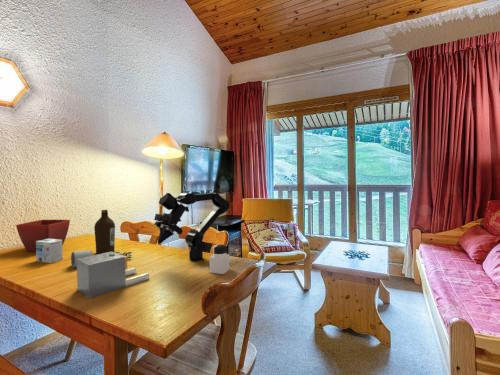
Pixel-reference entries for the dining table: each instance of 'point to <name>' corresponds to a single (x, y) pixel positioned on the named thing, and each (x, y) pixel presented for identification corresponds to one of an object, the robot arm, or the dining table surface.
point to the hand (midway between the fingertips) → (158, 243)
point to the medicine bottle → (219, 260)
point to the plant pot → (42, 232)
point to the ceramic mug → (79, 256)
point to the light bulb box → (49, 250)
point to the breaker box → (104, 274)
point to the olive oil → (104, 234)
